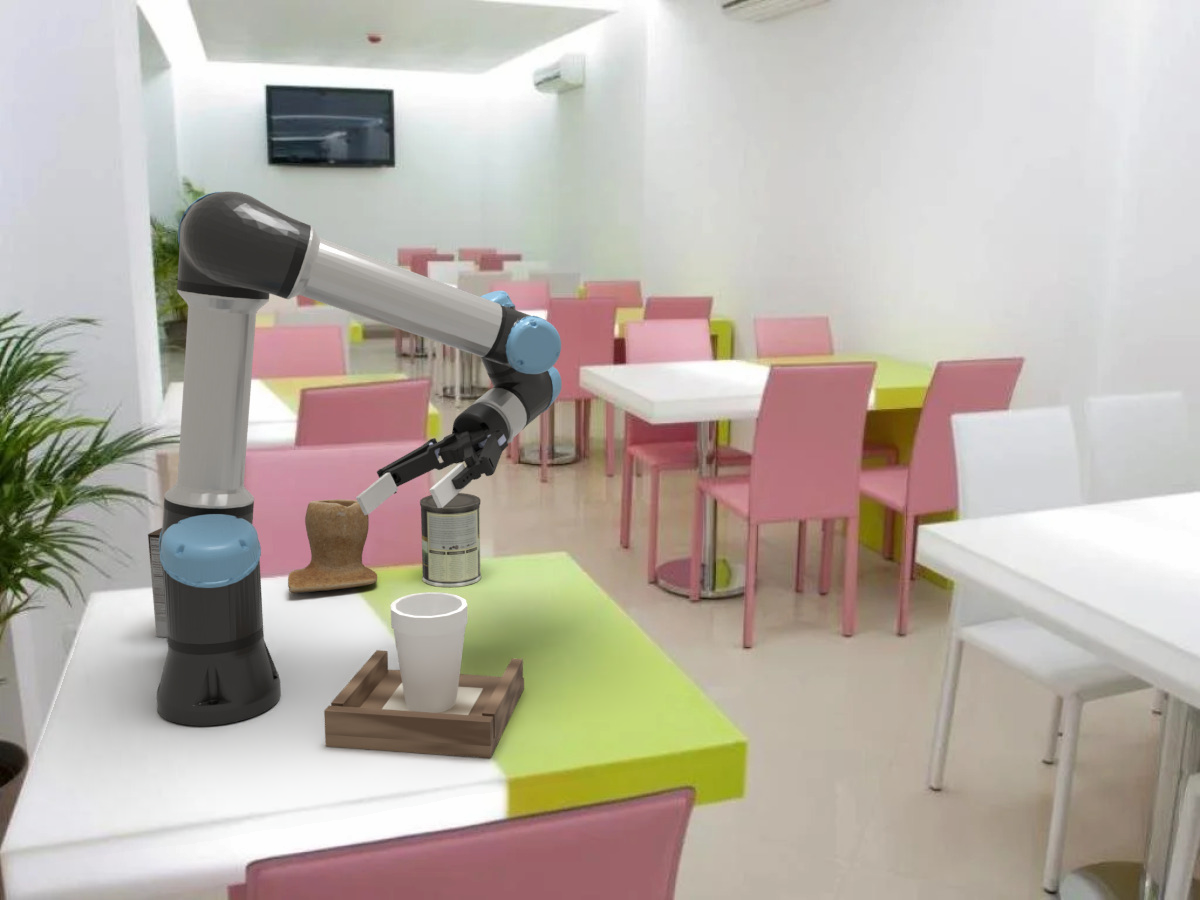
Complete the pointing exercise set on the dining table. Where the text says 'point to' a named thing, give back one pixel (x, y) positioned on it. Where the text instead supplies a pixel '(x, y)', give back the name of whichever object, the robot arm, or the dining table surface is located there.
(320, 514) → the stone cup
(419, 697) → the foam cup
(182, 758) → the dining table surface
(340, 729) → the tray
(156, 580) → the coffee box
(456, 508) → the coffee can
